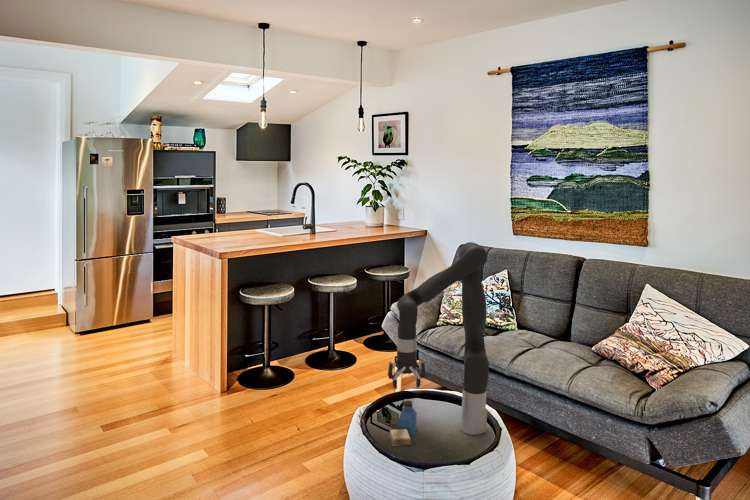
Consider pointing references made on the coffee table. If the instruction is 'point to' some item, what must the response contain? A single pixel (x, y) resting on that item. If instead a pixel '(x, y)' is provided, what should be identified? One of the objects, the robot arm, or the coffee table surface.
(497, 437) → the coffee table surface
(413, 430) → the perfume bottle
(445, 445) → the coffee table surface
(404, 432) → the pedestal
